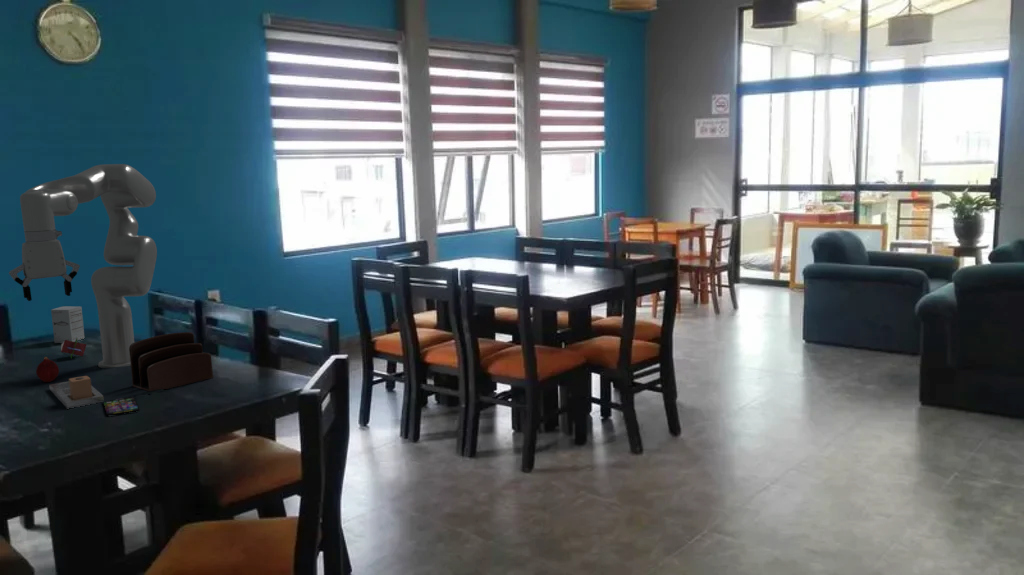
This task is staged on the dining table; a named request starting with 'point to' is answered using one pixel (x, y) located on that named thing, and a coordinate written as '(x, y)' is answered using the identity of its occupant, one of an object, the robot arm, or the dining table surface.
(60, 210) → the robot arm
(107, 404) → the smartphone
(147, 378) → the letter holder
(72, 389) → the brown rectangular block
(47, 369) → the onion
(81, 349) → the red box
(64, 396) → the pale grey slotted tray
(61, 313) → the supplement box
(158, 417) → the dining table surface
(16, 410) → the dining table surface
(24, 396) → the dining table surface
